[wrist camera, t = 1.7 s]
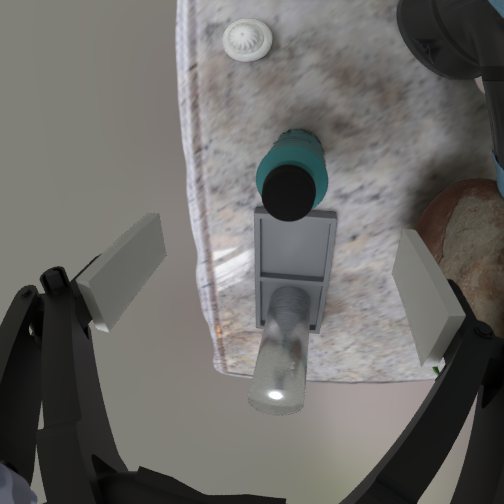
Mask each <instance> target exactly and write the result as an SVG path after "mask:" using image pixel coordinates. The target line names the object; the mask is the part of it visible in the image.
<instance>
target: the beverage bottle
mask: <svg viewBox="0 0 504 504" xmlns="http://www.w3.org/2000/svg"><path fill="white" fill-rule="evenodd" d="M307 131H308V130H307ZM307 131H305V129H304V130H289V131H288V132H286V133H282V134H283V135H282V136H280V138H279V137H278V138H279V139H278V141H276V143H275V142H274V143H275V144H274V146H273V147H272V148H271V150H270V151H268V152H269V153H268V154H267V155H266V156H265V157H264V158H263V160H262V161H261V163H260V165H259V167H258V169H257V174H256V185H257V189H258V191H259V194H260V195H261V197H262V202H263V205H264V207H265V209H266V210H267V212H268V213H269V214H270V215H271V216H272V217H274V218H276V219H278V220H280V221H285V222H293V221H297V220H300V219H302V218H303V217H305V216H306V215H307V214H308V213H309V212H310V211H311V209H313V208H315V207H316V206H317V205H318V204H319V203H320V202H321V201H322V199H323V198H324V196H325V194H326V192H327V188H328V174H327V171H326V170H327V169H326V168H325V166H326V165H325V162H326V161H325V160H324V156H323V152H324V151H322V147H321V144H320V143H321V142H320V140H319V141H318V139H317V137H316V136H315V135H313V134H311V133H312V132H311V133H309V132H307ZM324 155H325V154H324Z"/></svg>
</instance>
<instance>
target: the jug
mask: <svg viewBox="0 0 504 504" xmlns="http://www.w3.org/2000/svg"><path fill="white" fill-rule="evenodd" d="M414 230H416V231H417V233H418V234H419V236H420V237H421V239H422V240H423V242H424V243H425V245H426V246H427V248H428V250H429V251H430V253H431V254H432V256H433V258H434V259H435V261H436V262H437V264H438V266H439V267H440V269H441V271H442V273H443V274H444V276H445V278H446V279H452V280H453V281H454V282H455V283H456V284H457V285H458V286H459V287H460V289H461V291H462V292H463V295H464V296H465V298H466V299H467V301H468V303H469V305H470V307H471V309H472V310H473V312H474V314H475V316H476V318H477V320H480V321H483V322H485V323H487V324H488V325H489V326H490V327H491V328H492V329H493V331H494V333H495V336H497V337H501V338H504V198H503V196H502V195H501V193H500V192H499V189H498V186H497V181H494V180H490V179H480V178H479V179H470V180H464V181H461V182H458V183H456V184H454V185H451V186H449V187H448V188H446V189H445V190H443V191H442V192H440V193H439V194H438V195H437V196H436V197H435V198H434V199H433V200H432V201H431V202H430V203H429V205H428V206H427V207H426V208H425V210H424V211H423V213H422V215H421V216H420V218H419V220H418V222H417V224H416V227H415V229H414Z"/></svg>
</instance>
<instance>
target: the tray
mask: <svg viewBox="0 0 504 504" xmlns="http://www.w3.org/2000/svg"><path fill="white" fill-rule="evenodd" d="M336 224H337V216H336V212H326V211H313V210H311V211H310V212H309V213H308V214H307V215H306V216H305V217H303V218H302V219H300V220H297V221H293V222H285V221H280V220H278V219H276V218H274V217H272V216H271V215H270V214H269V213H268V212H267V210H266V209H265V207H257V208H256V210H255V212H254V242H255V300H256V328H260V329H264V326H265V321H266V316H267V312H268V307H269V302H270V298H271V295H272V294H273V292H274V291H275V290H277V289H278V288H281V287H285V286H294V287H298V288H300V289H302V290H304V291H305V292H306V293H307V294H308V295H309V297H310V301H311V303H310V326H309V333H314V334H319V333H320V328H321V322H322V317H323V311H324V306H325V300H326V294H327V288H328V282H329V276H330V269H331V262H332V255H333V248H334V240H335V232H336Z"/></svg>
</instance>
